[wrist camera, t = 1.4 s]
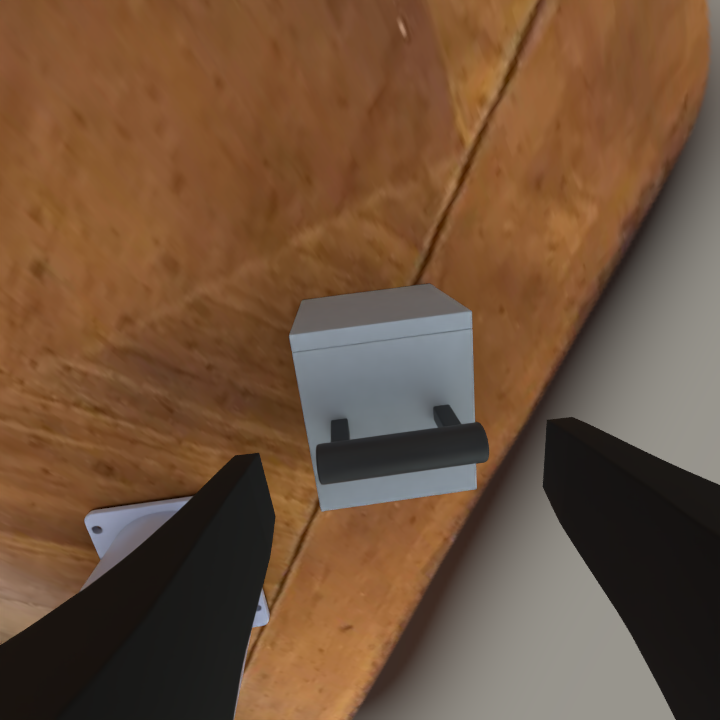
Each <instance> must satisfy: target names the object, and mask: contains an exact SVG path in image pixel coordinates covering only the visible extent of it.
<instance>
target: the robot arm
mask: <svg viewBox="0 0 720 720" xmlns="http://www.w3.org/2000/svg"><path fill="white" fill-rule="evenodd" d="M543 478H544V479H543V488H544V490H545V493H546V495H547V497H548V499H549V501H550V503H551V506H552V507H553V510H554V512H555V513H556V516H557V518H558V520H559V522H560V524H561V525H562V527H563V529H564V530H565V532H566V533H567V535H568V536H569V538H570V540H571V541H572V543H573V544H574V546H575V547H576V549H577V551H578V552H579V554H580V555H581V557H582V558H583V560H584V561H585V563H586V564H587V566H588V567H589V569H590V571H591V572H592V574H593V575H594V577H595V578H596V580H597V581H598V583H599V584H600V586H601V587H602V589H603V590H604V592H605V593H606V595H607V597H608V598H609V600H610V601H611V603H612V604H613V606H614V607H615V609H616V610H617V612H618V613H619V615H620V617H621V618H622V620H623V622H624V623H625V625H626V627H627V628H628V630H629V632H630V633H631V635H632V637H633V639H634V640H635V642H636V644H637V646H638V648H639V650H640V651H641V654H642V656H643V658H644V659H645V661H646V663H647V665H648V667H649V669H650V671H651V672H652V674H653V676H654V678H655V680H656V682H657V684H658V686H659V688H660V689H661V691H662V693H663V695H664V697H665V699H666V701H667V703H668V705H669V707H670V709H671V711H672V713H673V715H674V717H675V719H676V720H720V485H718V484H716V483H714V482H711V481H709V480H707V479H704V478H702V477H700V476H697V475H695V474H693V473H691V472H688V471H686V470H684V469H681V468H679V467H677V466H675V465H672V464H670V463H668V462H666V461H664V460H662V459H660V458H657V457H655V456H653V455H651V454H649V453H647V452H645V451H643V450H641V449H639V448H637V447H635V446H632V445H630V444H628V443H626V442H624V441H622V440H620V439H618V438H616V437H614V436H612V435H610V434H608V433H606V432H604V431H602V430H600V429H598V428H596V427H594V426H591V425H589V424H587V423H585V422H582V421H580V420H578V419H575V418H573V417H569V418H560V419H552V420H547V427H546V443H545V461H544V476H543ZM84 522H85V525H86V527H87V529H88V532H89V534H90V536H91V539H92V541H93V543H94V546H95V548H96V551H97V553H98V555H99V558H100V562H99V563H98V565H97V566H96V568H95V569H94V571H93V572H92V574H91V575H90V576H89V578H88V579H87V581H86V582H85V584H84V585H83V587H82V588H81V590H80V591H79V593H78V594H76V595H75V596H73V597H72V598H70V599H69V600H67V601H66V602H65V603H63V604H62V605H60V606H59V607H57V608H56V609H54V610H53V611H51V612H50V613H49V614H47V615H46V616H44V617H43V618H41V619H40V620H38V621H37V622H36V623H34V624H33V625H31V626H30V627H28V628H27V629H25V630H24V631H22V632H20V633H19V634H17V635H16V636H14V637H13V638H11V639H9V640H8V641H6V642H5V643H3V644H1V645H0V720H234V718H235V713H236V708H237V702H238V697H239V692H240V687H241V682H242V677H243V672H244V666H245V661H246V656H247V651H248V646H249V641H250V636H251V630H252V627H258V626H263V625H266V624H267V623H268V621H269V616H270V614H269V610H268V606H267V602H266V598H265V595H264V591H263V583H264V579H265V575H266V571H267V567H268V563H269V559H270V555H271V548H272V541H273V533H274V524H275V513H274V509H273V505H272V501H271V497H270V493H269V489H268V485H267V481H266V478H265V474H264V470H263V466H262V462H261V458H260V454H259V453H254V454H245V455H236V456H234V457H233V458H232V459H231V460H230V461H229V462H228V463H227V464H226V465H225V466H224V467H223V468H222V469H220V470H219V471H218V472H217V473H216V474H215V475H214V476H213V477H212V478H211V479H210V480H209V481H208V482H207V483H206V484H205V485H204V486H203V487H202V488H201V489H200V490H199V491H198V492H197V493H196V494H195V495H194V496H190V497H183V498H176V499H169V500H162V501H155V502H148V503H140V504H133V505H126V506H119V507H112V508H105V509H98V510H93V511H90V512H89V513H88V514H87V516H86V517H85V519H84ZM97 526H99V527H101V528H102V529H101V528H98V527H97Z"/></svg>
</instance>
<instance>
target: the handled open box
mask: <svg viewBox="0 0 720 720" xmlns="http://www.w3.org/2000/svg"><path fill="white" fill-rule="evenodd" d="M289 339H290V345H291V350H292V356H293V361H294V367H295V372H296V377H297V383H298V388H299V394H300V399H301V405H302V410H303V415H304V421H305V426H306V432H307V437H308V443H309V448H310V453H311V459H312V464H313V470H314V475H315V481H316V486H317V491H318V497H319V502H320V508H321V511H327V510H334V509H341V508H348V507H355V506H362V505H369V504H376V503H383V502H390V501H397V500H404V499H411V498H418V497H425V496H432V495H439V494H446V493H453V492H460V491H467V490H474V489H477V483H476V463H483V462H486V461H487V460H488V458H489V445H488V439H487V436H486V433H485V430H484V428H483V426H482V425H481V424H480V423H478V422H475V409H474V372H473V335H472V311H471V310H469V309H468V308H466V307H465V306H463V305H462V304H460V303H459V302H457V301H455V300H454V299H452V298H451V297H449V296H448V295H446V294H445V293H443V292H442V291H440V290H439V289H437V288H436V287H434V286H433V285H431V284H422V285H414V286H407V287H399V288H391V289H384V290H376V291H368V292H361V293H353V294H345V295H338V296H330V297H322V298H314V299H307V300H302V301H301V304H300V307H299V310H298V312H297V315H296V318H295V321H294V323H293V326H292V329H291V331H290V334H289Z"/></svg>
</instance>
